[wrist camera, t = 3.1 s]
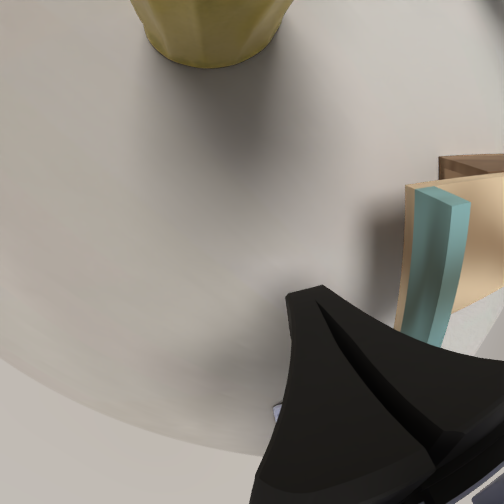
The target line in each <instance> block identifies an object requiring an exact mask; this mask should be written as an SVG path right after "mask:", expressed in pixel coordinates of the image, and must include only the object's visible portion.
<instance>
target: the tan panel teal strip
mask: <svg viewBox="0 0 504 504" xmlns="http://www.w3.org/2000/svg"><path fill="white" fill-rule="evenodd" d="M502 287H504V172H502V173H493V174H484V175H475V176H467V177H459V178H452V179H444V180H437V181H430V182H423V183H416V184H409V185H405V228H404V246H403V259H402V270H401V280H400V288H399V296H398V304H397V310H396V317H395V323H394V329H395V330H397V331H399V332H401V333H404V334H406V335H408V336H410V337H413V338H415V339H417V340H420V341H422V342H425V343H428V344H430V345H433V346H436V347H441V344H442V341H443V338H444V335H445V332H446V329H447V326H448V322H449V319H450V315H451V314H452V313H454V312H456V311H458V310H461V309H463V308H465V307H467V306H469V305H471V304H472V303H474V302H476V301H478V300H480V299H482V298H484V297H486V296H488V295H489V294H491V293H493V292H495V291H497V290H498V289H500V288H502Z"/></svg>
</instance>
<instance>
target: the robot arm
mask: <svg viewBox="0 0 504 504" xmlns="http://www.w3.org/2000/svg"><path fill="white" fill-rule="evenodd" d="M285 299H286V306H287V314H288V321H289V329H290V336H291V340H292V345H291V359H290V367H289V373H288V379H287V385H286V389H285V394H284V398H283V402H282V404H280V405H276V406H275V407H274V408H273V412H274V416H275V421H276V425H275V428H274V431H273V434H272V437H271V440H270V442H269V445H268V447H267V450H266V452H265V454H264V456H263V459H262V461H261V463H260V465H259V468H258V470H257V472H256V474H255V481H254V485H253V489H252V493H251V497H250V503H249V504H455V503H456V502H458V501H459V500H461V499H462V498H464V497H465V496H466V495H468V494H469V493H471V492H472V491H474V490H475V489H476V488H477V487H479V486H480V485H482V484H483V483H484V482H485V481H487V480H488V479H489V478H490V477H492V476H493V475H494V474H495V473H496V472H498V471H499V470H500V469H501V468H502V467H504V361H500V360H492V359H484V358H478V357H474V356H469V355H464V354H460V353H456V352H453V351H449V350H446V349H443V348H440V347H436V346H433V345H430V344H428V343H425V342H422V341H420V340H417V339H415V338H413V337H410V336H408V335H406V334H404V333H401V332H399V331H397V330H395V329H393V328H391V327H389V326H387V325H385V324H384V323H382V322H380V321H378V320H376V319H375V318H373V317H371V316H369V315H368V314H366V313H365V312H363V311H361V310H360V309H358V308H357V307H355V306H353V305H352V304H350V303H349V302H347V301H346V300H344V299H343V298H342V297H340V296H339V295H337V294H336V293H334V292H333V291H331V290H330V289H328V288H327V287H325V286H324V285H320V286H316V287H312V288H308V289H304V290H300V291H296V292H292V293H288V294H287V296H286V297H285ZM472 502H473V504H504V473H503V474H502V475H500V476H499V477H498V478H496V479H495V480H494V481H493V482H491V483H490V484H489V485H487V486H486V487H485V488H483V489H482V490H481V491H480V492H479V493H477V494H476V495H475V496H474V497H473V498H472Z"/></svg>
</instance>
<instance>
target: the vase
mask: <svg viewBox="0 0 504 504" xmlns="http://www.w3.org/2000/svg"><path fill="white" fill-rule="evenodd" d="M130 1H131V3H132V5H133V7H134V9H135V11H136V13H137V15H138V17H139V19H140V20H141V22H142V23H143V25H144V29H145V33H146V35H147V38H148V39H149V41H150V43H151V44H152V45H153V47H154V48H155V49H156V50H157V51H159V52H160V53H161V54H162V55H164V56H165V57H166V58H168V59H169V60H172V61H174V62H177V63H180V64H183V65H187V66H192V67H197V68H220V67H226V66H231V65H235V64H238V63H240V62H243V61H245V60H247V59H249V58H251V57H252V56H254V55H256V54H257V53H259V52H260V51H261V50H263V49H264V48H265V47H266V46H267V45H268V43H269V42H270V41H271V39H272V37H273V36H274V34H275V32H276V31H277V29H278V27H279V25H280V24H281V21H282V18H283V16H284V14H285V12H286V11H287V9H288V8H289V6H290V5H291V3H292V2H293V0H130Z"/></svg>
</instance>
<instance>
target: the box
mask: <svg viewBox="0 0 504 504" xmlns="http://www.w3.org/2000/svg"><path fill="white" fill-rule="evenodd" d="M502 172H504V154H478V155H457V156H441V157H439V180H444V179H452V178H459V177H467V176H475V175H484V174H493V173H502Z"/></svg>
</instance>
